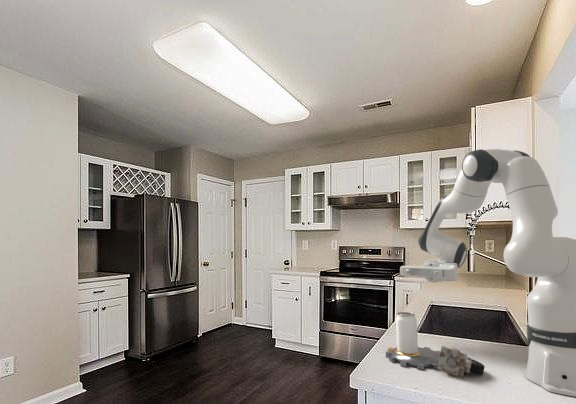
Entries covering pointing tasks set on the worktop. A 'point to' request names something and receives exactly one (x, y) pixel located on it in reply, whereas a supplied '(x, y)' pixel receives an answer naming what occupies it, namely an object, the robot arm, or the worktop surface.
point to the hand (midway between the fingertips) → (419, 273)
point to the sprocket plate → (415, 358)
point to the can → (406, 333)
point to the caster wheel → (458, 363)
